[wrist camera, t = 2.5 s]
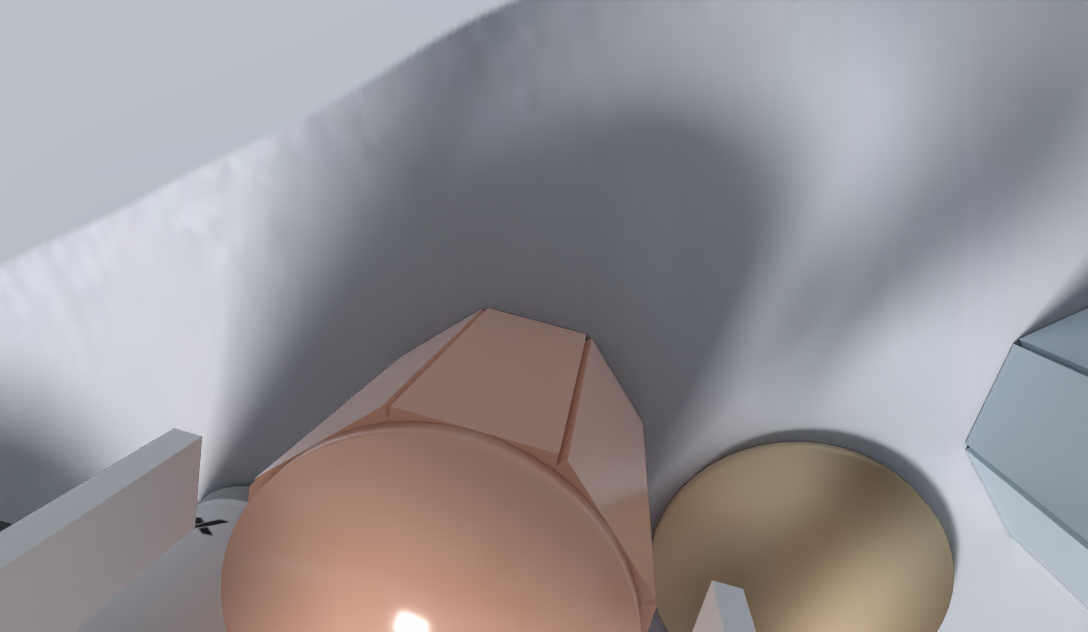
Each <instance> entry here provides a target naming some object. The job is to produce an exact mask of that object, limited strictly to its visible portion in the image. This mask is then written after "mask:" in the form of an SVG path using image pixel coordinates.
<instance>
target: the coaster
mask: <svg viewBox="0 0 1088 632" xmlns="http://www.w3.org/2000/svg"><path fill="white" fill-rule="evenodd" d="M652 552H653V565H654V579H655V593H656V606H657V610H658V613H659V616H660V618H661V620H662V622H663V624H664V625H665V627H666V629H667V631H668V632H692V631H693V628H694V626H695V623H696V620H697V618H698V615H699V613H700V610H701V607H702V605H703V602H704V599H705V597H706V594H707V592H708V589H709V586H710V584H711V581H712V580H713V581H717V582H720V583H724V584H727V585H731V586H734V587H738V588H741V589H743V590H744V593H745V597H746V600H747V603H748V607H749V610H750V613H751V616H752V620H753V623H754V626H755V630H756V632H937V630H938V629H939V627H940V626H941V624H942V622H943V620H944V617H945V615H946V613H947V610H948V608H949V604H950V600H951V596H952V592H953V582H954V568H953V557H952V553H951V549H950V545H949V541H948V539H947V536H946V534H945V532H944V530H943V527H942V525H941V523H940V522H939V520H938V519H937V517H936V515H935V514H934V512H933V511H932V509H931V508H930V507H929V506H928V505H927V503H926V502H925V501H924V500H923V499H922V498H921V497H920V495H919V494H918V493H917V492H916V491H915V490H914V489H913V488H912V487H911V485H909V484H908V483H907V482H906V481H905V480H904V479H902V478H901V477H900V476H899V475H898V474H897V473H895V472H894V471H892V470H891V469H889V468H888V467H886V466H885V465H883V464H881V463H880V462H878V461H876V460H874V459H872V458H869V457H867V456H865V455H863V454H861V453H858V452H855V451H852V450H849V449H846V448H843V447H838V446H833V445H829V444H824V443H814V442H779V443H771V444H764V445H760V446H756V447H752V448H748V449H744V450H741V451H739V452H736V453H734V454H731V455H728V456H726V457H724V458H722V459H720V460H718V461H716V462H714V463H713V464H711V465H709V466H707V467H706V468H705V469H703V470H702V471H700V472H699V473H697V474H696V475H695V476H693V477H692V478H691V479H690V480H689V481H688V482H687V483H686V484H685V485H684V486H683V487H681V489H680V490H679V491H678V492H677V493H676V495H675V496H674V497H673V498H672V499H671V501H670V502H669V504H668V505H667V507H666V509H665V510H664V512H663V514H662V515H661V518H660V520H659V522H658V525H657V527H656V529H655V533H654V537H653V541H652Z"/></svg>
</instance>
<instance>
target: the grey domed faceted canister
mask: <svg viewBox="0 0 1088 632" xmlns="http://www.w3.org/2000/svg"><path fill="white" fill-rule="evenodd" d="M1019 340H1020V342H1021V344H1022V346H1020V345H1016V344H1013V346H1012V348H1011V350H1010V352H1009V354H1008V356H1007V358H1006V360H1005V363H1004V365H1003V367H1002V369H1001V371H1000V373H999V375H998V377H997V379H996V381H995V383H994V385H993V387H992V389H991V391H990V393H989V395H988V398H987V400H986V402H985V404H984V406H983V408H982V410H981V412H980V414H979V416H978V418H977V420H976V422H975V424H974V426H973V428H972V430H971V432H970V435H969V437H968V439H967V441H966V443H965V444H967V445H968V446H969V448H967V449H965V450H966V452H967V454H968V456H969V458H970V460H971V462H972V464H973V466H974V467H975V469H976V471H977V473H978V475H979V477H980V479H981V481H982V483H983V485H984V487H985V489H986V491H987V493H988V495H989V497H990V499H991V501H992V503H993V504H994V506H995V508H996V510H997V512H998V514H999V516H1000V518H1001V520H1002V522H1003V524H1004V526H1005V528H1006V530H1007V532H1008V534H1009V535H1010V536H1011V537H1012V538H1013V539H1014V540H1015V541H1016V542H1017V543H1019V544H1020V545H1021V546H1022V547H1023V548H1024V549H1025V550H1026V551H1027V552H1028V553H1029V554H1030V555H1031V556H1032V557H1033V558H1034V559H1035V560H1036V561H1038V562H1039V563H1040V564H1041V565H1042V566H1043V567H1044V568H1045V569H1046V570H1047V571H1048V572H1049V573H1050V574H1051V575H1052V576H1053V577H1054V578H1055V579H1057V580H1058V581H1059V582H1060V583H1061V584H1062V585H1063V586H1064V587H1065V588H1066V589H1067V590H1068V591H1069V592H1070V593H1071V594H1072V595H1073V596H1074V597H1076V598H1077V599H1078V600H1079V601H1080V602H1081V603H1082V604H1083V605H1084V606H1085V607H1086V608H1087V609H1088V308H1086V309H1084V310H1082V311H1079V312H1077V313H1075V314H1073V315H1071V316H1068V317H1066V318H1064V319H1062V320H1060V321H1057V322H1055V323H1053V324H1051V325H1048V326H1046V327H1044V328H1042V329H1040V330H1037V331H1035V332H1033V333H1031V334H1029V335H1026V336H1024V337H1022V338H1020V339H1019Z"/></svg>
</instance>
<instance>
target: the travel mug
mask: <svg viewBox="0 0 1088 632" xmlns="http://www.w3.org/2000/svg"><path fill="white" fill-rule="evenodd" d="M249 487H250V486H231V487H226V488H222V489H219V490H217V491H214V492H212V493H210V494H208V495H207V496H206V497H204V498H203V499H202V500H201V501H199V502H198V503H197V508H196V521H195V528H194V529H193V530H191V531H190V532H189V533H188V534H187V535H186V536H184V537H183V538H182V539H181V540H180V541H179V542H177V543H176V544H175V545H174V546H173V547H172V548H171V549H169V550H168V551H167V552H166V553H165V554H164V555H162V556H161V557H160V558H159V559H158V560H157V561H155V562H154V563H153V564H152V565H151V566H150V567H148V568H147V569H146V570H145V571H144V572H143V573H142V574H140V575H139V576H138V577H137V578H136V579H135V580H133V581H132V582H131V583H130V584H129V585H128V586H126V587H125V588H124V589H123V590H122V591H121V592H119V593H118V594H117V595H116V596H115V597H114V598H113V599H111V600H110V601H109V602H108V603H107V604H106V605H104V606H103V607H102V608H101V609H100V610H99V611H97V612H96V613H95V614H94V615H93V616H92V617H90V618H89V619H88V620H87V621H86V622H85V623H84V624H82V625H81V626H80V627H79V628H78V629H77V630H75V631H74V632H227V630H226V626H225V622H224V618H223V610H222V601H221V573H222V567H223V562H224V556H225V551H226V548H227V545H228V542H229V539H230V536H231V533H232V531H233V528H234V527H235V525H236V523H237V521H238V519H239V517H240V515H241V514H242V512H243V510H244V509H245V507H246V506H247V505H248V496H249Z"/></svg>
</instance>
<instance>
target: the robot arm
mask: <svg viewBox="0 0 1088 632" xmlns="http://www.w3.org/2000/svg"><path fill="white" fill-rule="evenodd" d="M201 445H202V436H199V435H196V434H192V433H189V432H185V431H182V430H178V429H175V428H174V429H172V430H170V431H169V432H167V433H165V434H164V435H162V436H160V437H158V438H157V439H155V440H153V441H152V442H150V443H148V444H147V445H145V446H143V447H142V448H140V449H138V450H137V451H135V452H133V453H132V454H130V455H128V456H127V457H125V458H123V459H122V460H120V461H118V462H117V463H115V464H113V465H112V466H110V467H108V468H106V469H105V470H103V471H101V472H100V473H98V474H96V475H95V476H93V477H91V478H90V479H88V480H86V481H85V482H83V483H81V484H80V485H78V486H76V487H75V488H73V489H71V490H70V491H68V492H66V493H65V494H63V495H61V496H60V497H58V498H56V499H54V500H53V501H51V502H49V503H48V504H46V505H44V506H43V507H41V508H39V509H38V510H36V511H34V512H33V513H31V514H29V515H28V516H26V517H24V518H23V519H21V520H19V521H18V522H16V523H14V524H9V523H6V522H2V521H0V632H74V631H75V630H77V629H78V628H79V627H80V626H81V625H82V624H84V623H85V622H86V621H87V620H88V619H89V618H90V617H92V616H93V615H94V614H95V613H96V612H97V611H99V610H100V609H101V608H102V607H103V606H104V605H106V604H107V603H108V602H109V601H110V600H111V599H113V598H114V597H115V596H116V595H117V594H118V593H119V592H121V591H122V590H123V589H124V588H125V587H126V586H128V585H129V584H130V583H131V582H132V581H133V580H135V579H136V578H137V577H138V576H139V575H140V574H142V573H143V572H144V571H145V570H146V569H147V568H148V567H150V566H151V565H152V564H153V563H154V562H155V561H157V560H158V559H159V558H160V557H161V556H162V555H164V554H165V553H166V552H167V551H168V550H169V549H171V548H172V547H173V546H174V545H175V544H176V543H177V542H179V541H180V540H181V539H182V538H183V537H184V536H186V535H187V534H188V533H189V532H190V531H191V530H193V529H194V528H195V521H196V508H197V495H198V483H199V470H200V457H201ZM692 632H756V630H755V626H754V623H753V620H752V616H751V613H750V610H749V607H748V603H747V600H746V597H745V593H744V590H743V589H741V588H738V587H734V586H731V585H727V584H724V583H720V582H717V581H713V580H712V581H711V584H710V586H709V589H708V592H707V594H706V597H705V599H704V602H703V605H702V607H701V610H700V613H699V615H698V618H697V620H696V623H695V626H694V628H693V631H692Z"/></svg>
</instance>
